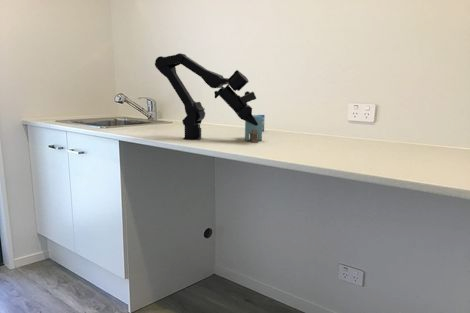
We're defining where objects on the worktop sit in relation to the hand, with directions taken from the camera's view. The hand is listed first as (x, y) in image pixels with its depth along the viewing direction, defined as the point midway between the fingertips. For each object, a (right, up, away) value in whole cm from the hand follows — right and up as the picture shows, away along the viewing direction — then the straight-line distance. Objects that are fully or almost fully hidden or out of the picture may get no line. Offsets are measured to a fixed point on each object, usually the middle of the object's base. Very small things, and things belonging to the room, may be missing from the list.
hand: (256, 124), depth 160 cm
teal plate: (-1, -7, +1) cm, 7 cm away
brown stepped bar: (-1, -7, +1) cm, 7 cm away
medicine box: (+2, -1, +31) cm, 31 cm away
